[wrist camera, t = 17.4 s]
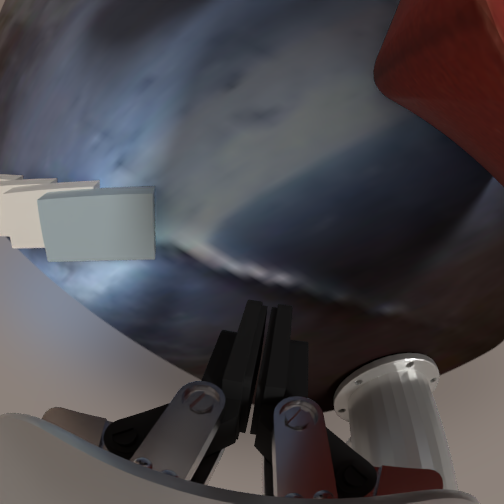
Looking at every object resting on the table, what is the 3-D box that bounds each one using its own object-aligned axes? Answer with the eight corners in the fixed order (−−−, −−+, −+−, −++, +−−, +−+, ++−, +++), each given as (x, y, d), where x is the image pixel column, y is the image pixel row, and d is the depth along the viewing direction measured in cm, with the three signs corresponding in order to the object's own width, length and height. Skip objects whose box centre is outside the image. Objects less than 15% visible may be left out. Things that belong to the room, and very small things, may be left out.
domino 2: (98, 247, 20) (12, 248, 18) (103, 236, 22) (21, 238, 19) (93, 186, 18) (2, 193, 15) (99, 180, 20) (13, 187, 17)
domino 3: (154, 259, 20) (48, 261, 17) (155, 247, 22) (56, 250, 19) (152, 193, 18) (36, 200, 15) (154, 186, 19) (47, 192, 17)
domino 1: (52, 237, 20) (-15, 235, 18) (60, 229, 22) (-6, 227, 19) (48, 183, 18) (-22, 187, 16) (57, 178, 20) (-11, 181, 17)
